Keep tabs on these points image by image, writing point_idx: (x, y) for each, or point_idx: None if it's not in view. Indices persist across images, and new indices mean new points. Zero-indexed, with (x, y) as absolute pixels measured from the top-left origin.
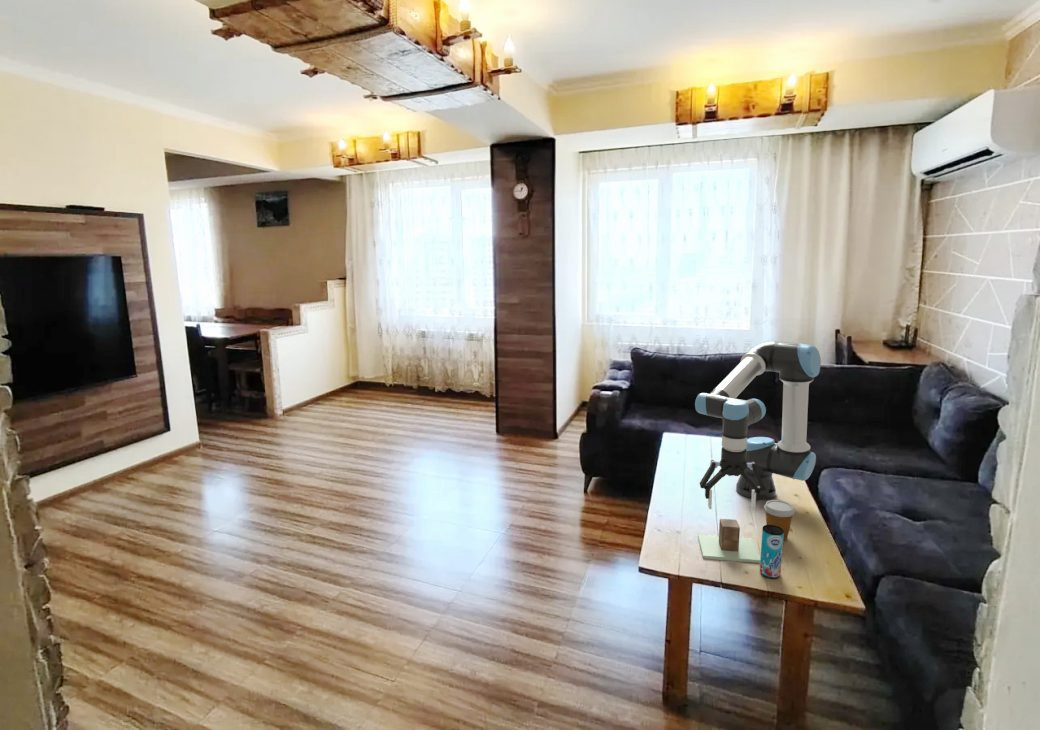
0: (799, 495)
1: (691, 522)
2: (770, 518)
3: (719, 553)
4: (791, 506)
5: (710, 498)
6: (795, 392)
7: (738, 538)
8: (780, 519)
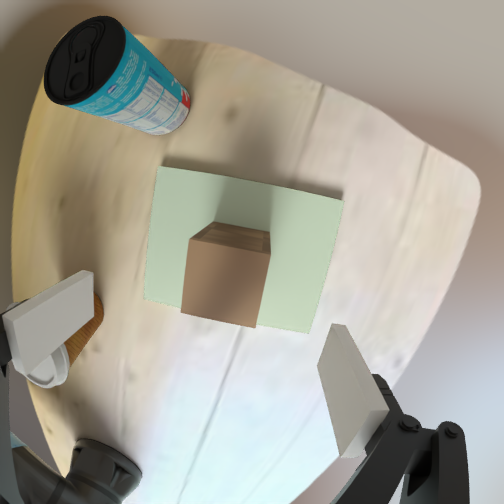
0: (45, 427)
1: (291, 400)
2: None
3: (284, 211)
4: None
5: (360, 366)
6: None
7: (205, 229)
8: None
